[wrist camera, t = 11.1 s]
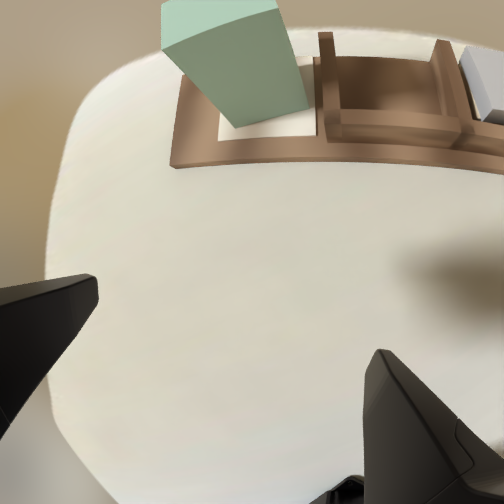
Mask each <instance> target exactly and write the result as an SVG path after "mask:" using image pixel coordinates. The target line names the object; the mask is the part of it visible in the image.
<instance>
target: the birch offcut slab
mask: <svg viewBox="0 0 504 504" xmlns="http://www.w3.org/2000/svg"><path fill="white" fill-rule="evenodd" d="M458 67H459V70H460V74H461V77H462V80H463V84H464V87H465V91H466V95H467V99H468V103H469V107H470V111H471V115H472V120H476V121H481V118H480V115H479V112H478V109H477V106H476V103H475V100H474V97H473V95H472V92H471V89H470V87H469V84H468V81H467V79H466V76H465V74H464V72H463V69H462V67H461V65H460V62H459V64H458ZM487 123H489V122H487ZM492 124H497V125H502V126H504V124H501V123H492Z"/></svg>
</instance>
